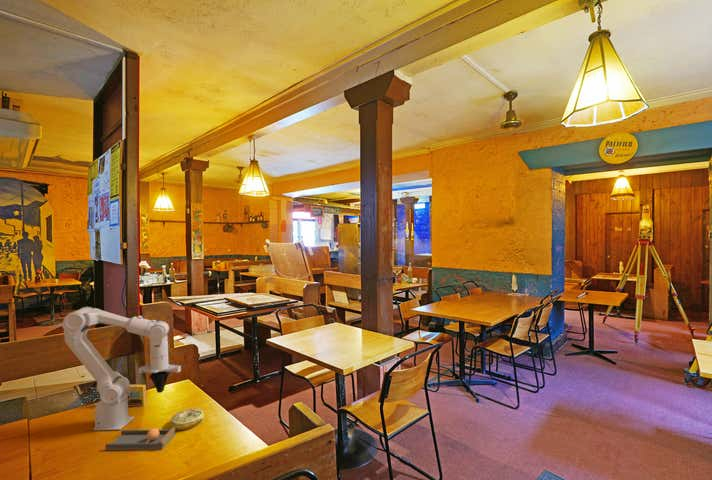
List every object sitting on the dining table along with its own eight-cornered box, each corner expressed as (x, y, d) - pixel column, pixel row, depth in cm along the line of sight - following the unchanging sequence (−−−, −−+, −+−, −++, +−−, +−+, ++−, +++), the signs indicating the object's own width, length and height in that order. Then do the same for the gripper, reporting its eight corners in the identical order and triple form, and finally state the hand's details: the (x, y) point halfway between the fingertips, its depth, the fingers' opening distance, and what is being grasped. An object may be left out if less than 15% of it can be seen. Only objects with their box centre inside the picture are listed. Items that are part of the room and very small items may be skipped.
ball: (154, 430, 112) (155, 441, 112) (160, 425, 116) (162, 436, 115) (143, 432, 112) (144, 443, 112) (150, 427, 116) (151, 438, 115)
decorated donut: (210, 420, 127) (209, 410, 127) (183, 435, 117) (182, 424, 117) (191, 413, 132) (191, 403, 132) (164, 427, 122) (164, 416, 122)
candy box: (104, 406, 138) (103, 386, 138) (108, 403, 140) (107, 383, 140) (143, 406, 137) (142, 386, 137) (147, 404, 139) (146, 383, 139)
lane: (105, 450, 110) (105, 442, 110) (122, 435, 118) (122, 427, 118) (162, 449, 110) (161, 441, 110) (175, 434, 118) (175, 427, 118)
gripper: (132, 359, 124) (134, 396, 124) (173, 358, 124) (174, 396, 124) (145, 352, 131) (146, 387, 131) (183, 351, 131) (184, 387, 131)
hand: (160, 391), depth 128 cm, fingers closed
